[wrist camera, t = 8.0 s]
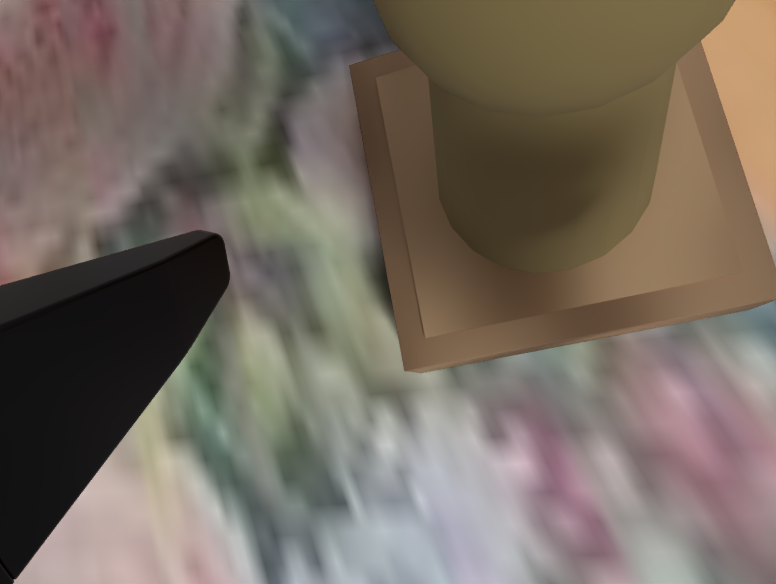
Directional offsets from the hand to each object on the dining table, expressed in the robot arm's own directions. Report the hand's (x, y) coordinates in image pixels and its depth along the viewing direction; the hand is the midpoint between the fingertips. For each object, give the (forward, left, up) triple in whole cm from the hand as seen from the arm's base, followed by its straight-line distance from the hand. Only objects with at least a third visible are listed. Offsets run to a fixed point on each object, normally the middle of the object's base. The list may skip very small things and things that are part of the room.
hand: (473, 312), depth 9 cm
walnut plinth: (+2, +5, -10) cm, 11 cm away
